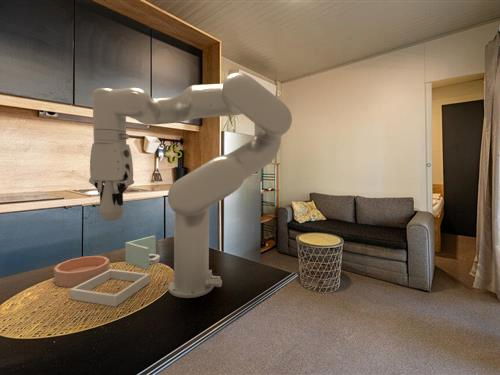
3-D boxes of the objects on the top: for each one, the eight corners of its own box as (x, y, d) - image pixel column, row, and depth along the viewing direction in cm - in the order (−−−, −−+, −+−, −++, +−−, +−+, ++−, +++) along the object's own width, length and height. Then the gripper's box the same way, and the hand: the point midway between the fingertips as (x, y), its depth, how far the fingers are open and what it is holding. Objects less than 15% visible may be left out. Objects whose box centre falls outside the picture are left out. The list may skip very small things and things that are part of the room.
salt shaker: (113, 221, 64) (112, 170, 63) (94, 220, 65) (92, 170, 64) (128, 217, 69) (127, 170, 69) (110, 216, 71) (109, 170, 70)
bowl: (118, 270, 82) (118, 258, 81) (82, 289, 69) (82, 275, 68) (84, 265, 85) (83, 254, 84) (43, 283, 71) (42, 269, 71)
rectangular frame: (149, 282, 74) (149, 274, 73) (115, 306, 60) (115, 296, 60) (110, 277, 77) (110, 269, 76) (69, 299, 63) (69, 289, 63)
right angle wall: (147, 270, 83) (146, 248, 82) (125, 263, 89) (125, 242, 89) (175, 260, 93) (174, 240, 93) (154, 254, 99) (153, 235, 99)
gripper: (146, 140, 68) (147, 207, 69) (95, 140, 71) (97, 204, 72) (127, 136, 60) (128, 211, 62) (71, 137, 64) (74, 208, 65)
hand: (111, 207), depth 67 cm, fingers closed on salt shaker, 3 cm apart
